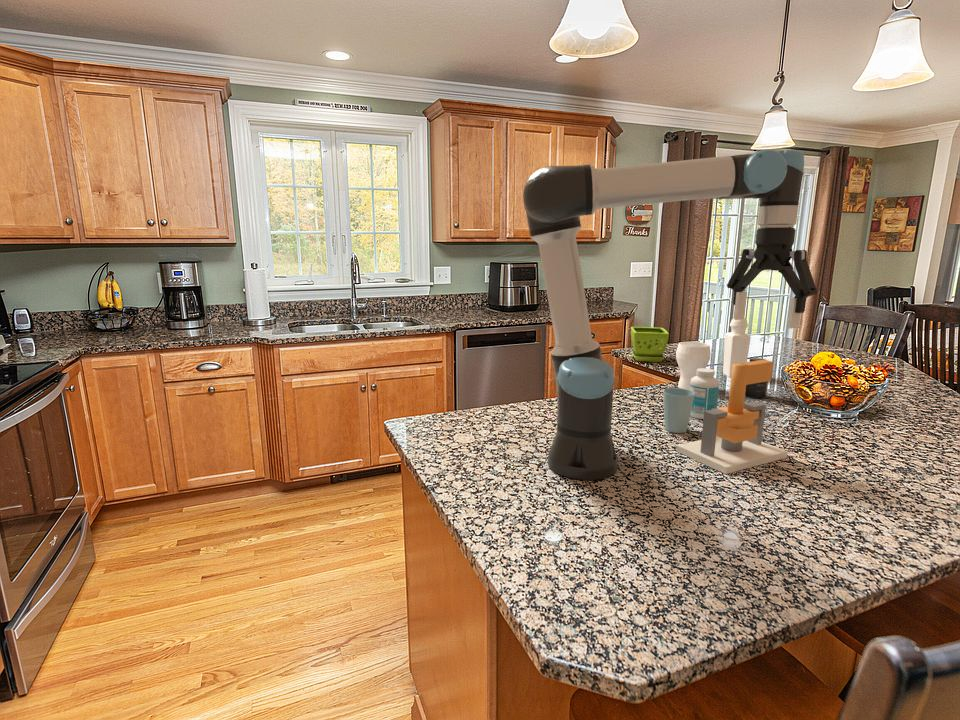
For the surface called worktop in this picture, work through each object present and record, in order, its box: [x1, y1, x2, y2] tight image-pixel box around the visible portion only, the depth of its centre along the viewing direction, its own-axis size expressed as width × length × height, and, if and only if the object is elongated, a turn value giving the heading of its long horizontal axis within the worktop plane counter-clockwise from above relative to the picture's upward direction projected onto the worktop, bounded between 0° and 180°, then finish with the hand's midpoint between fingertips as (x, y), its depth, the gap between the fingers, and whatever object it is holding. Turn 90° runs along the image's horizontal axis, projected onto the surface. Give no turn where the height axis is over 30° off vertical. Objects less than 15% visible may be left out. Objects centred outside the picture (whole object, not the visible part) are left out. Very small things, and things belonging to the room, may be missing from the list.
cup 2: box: [675, 341, 712, 390], centre depth 178 cm, size 11×11×15 cm
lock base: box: [675, 401, 789, 475], centre depth 123 cm, size 20×14×11 cm
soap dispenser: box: [722, 317, 752, 378], centre depth 193 cm, size 6×6×22 cm
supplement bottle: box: [745, 357, 769, 399], centre depth 169 cm, size 7×7×12 cm
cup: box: [662, 387, 695, 434], centre depth 139 cm, size 8×8×10 cm
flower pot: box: [630, 326, 670, 363], centre depth 221 cm, size 14×14×13 cm
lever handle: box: [716, 359, 774, 443], centre depth 122 cm, size 8×16×17 cm, turn 116°
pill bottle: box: [690, 367, 720, 420], centre depth 150 cm, size 8×7×14 cm
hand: (764, 323), depth 120 cm, fingers open, 13 cm apart
